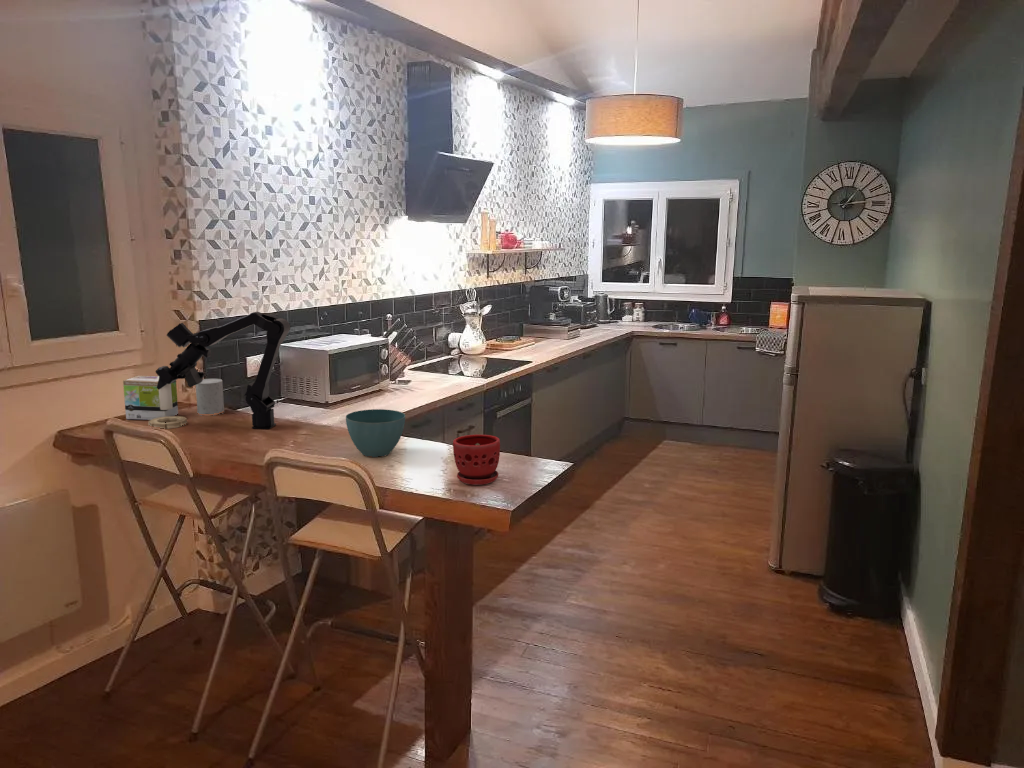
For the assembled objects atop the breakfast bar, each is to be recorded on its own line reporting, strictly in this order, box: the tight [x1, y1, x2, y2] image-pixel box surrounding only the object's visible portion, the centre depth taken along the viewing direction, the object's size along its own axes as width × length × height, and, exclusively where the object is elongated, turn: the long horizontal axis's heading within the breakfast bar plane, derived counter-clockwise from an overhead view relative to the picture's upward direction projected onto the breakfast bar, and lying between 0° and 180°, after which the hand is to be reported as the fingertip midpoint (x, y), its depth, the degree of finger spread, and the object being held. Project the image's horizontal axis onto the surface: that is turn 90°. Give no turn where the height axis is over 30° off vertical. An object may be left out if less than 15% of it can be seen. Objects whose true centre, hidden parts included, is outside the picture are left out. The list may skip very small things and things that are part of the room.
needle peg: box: [156, 373, 173, 410], centre depth 258 cm, size 4×4×14 cm
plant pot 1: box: [345, 408, 406, 458], centre depth 229 cm, size 18×18×12 cm
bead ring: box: [147, 415, 188, 430], centre depth 261 cm, size 12×12×2 cm
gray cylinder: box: [195, 378, 225, 414], centre depth 278 cm, size 10×10×12 cm
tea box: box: [122, 375, 179, 421], centre depth 270 cm, size 15×10×15 cm, turn 88°
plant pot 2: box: [452, 434, 501, 486], centre depth 206 cm, size 13×13×12 cm
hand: (160, 387), depth 258 cm, fingers closed on needle peg, 4 cm apart
